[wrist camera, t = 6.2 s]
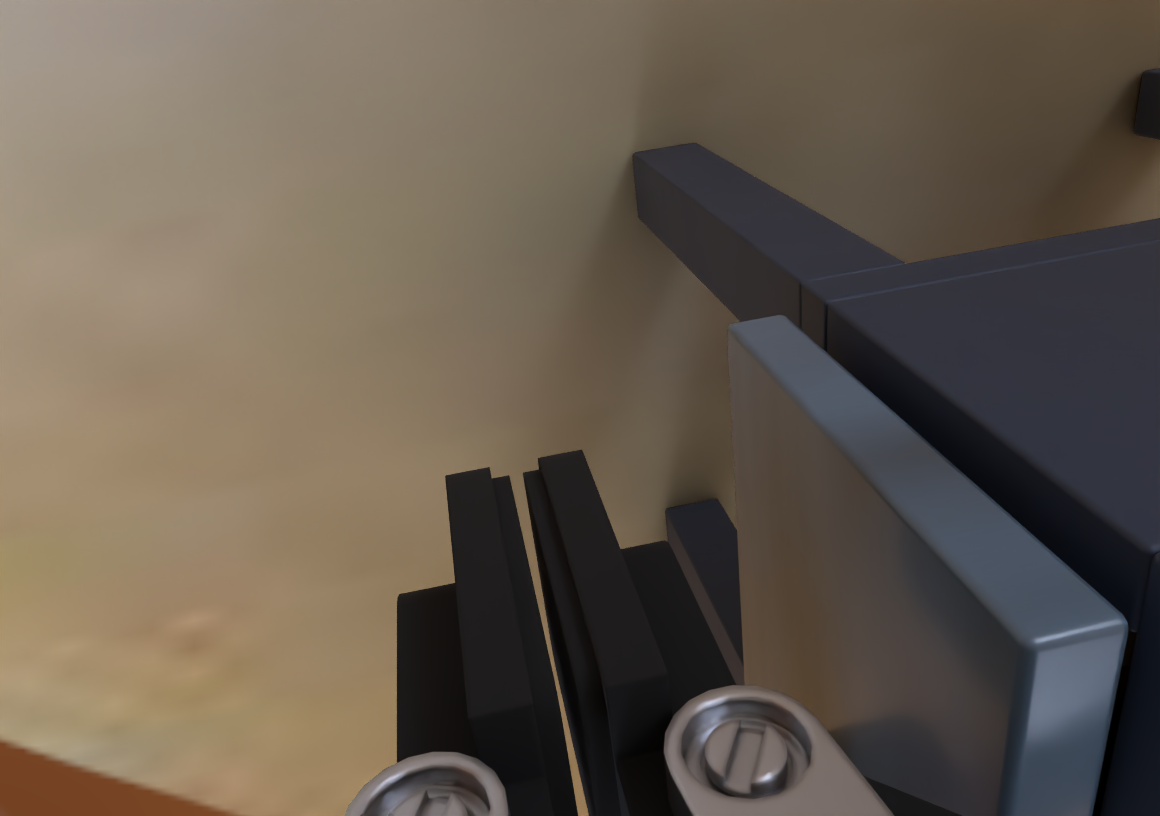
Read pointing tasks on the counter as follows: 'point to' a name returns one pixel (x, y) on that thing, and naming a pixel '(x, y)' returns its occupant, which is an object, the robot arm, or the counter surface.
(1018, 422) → the drawer chest
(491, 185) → the counter surface
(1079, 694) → the drawer
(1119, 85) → the counter surface
